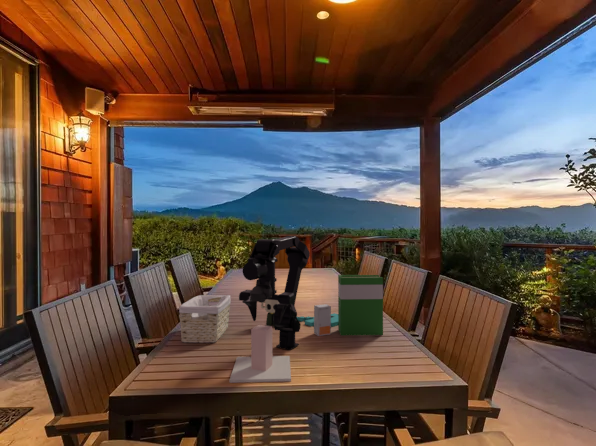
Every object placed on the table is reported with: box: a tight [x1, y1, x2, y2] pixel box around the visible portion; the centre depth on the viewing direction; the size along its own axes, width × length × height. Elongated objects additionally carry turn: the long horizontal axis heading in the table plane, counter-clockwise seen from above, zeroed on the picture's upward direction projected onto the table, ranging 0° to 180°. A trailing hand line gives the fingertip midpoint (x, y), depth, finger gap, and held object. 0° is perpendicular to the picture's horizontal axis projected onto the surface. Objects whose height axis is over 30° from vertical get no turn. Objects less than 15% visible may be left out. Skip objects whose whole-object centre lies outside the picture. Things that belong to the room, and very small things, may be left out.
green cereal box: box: [337, 274, 384, 336], centre depth 151 cm, size 18×7×24 cm, turn 91°
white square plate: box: [229, 355, 292, 384], centre depth 113 cm, size 18×18×1 cm
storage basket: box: [178, 294, 232, 344], centre depth 149 cm, size 24×16×15 cm
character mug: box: [260, 299, 279, 327], centre depth 161 cm, size 11×7×13 cm, turn 88°
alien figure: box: [297, 313, 338, 328], centre depth 169 cm, size 20×2×20 cm
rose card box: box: [250, 324, 273, 371], centre depth 113 cm, size 5×5×12 cm
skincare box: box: [313, 303, 332, 337], centre depth 149 cm, size 6×4×12 cm
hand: (266, 322), depth 121 cm, fingers open, 9 cm apart
